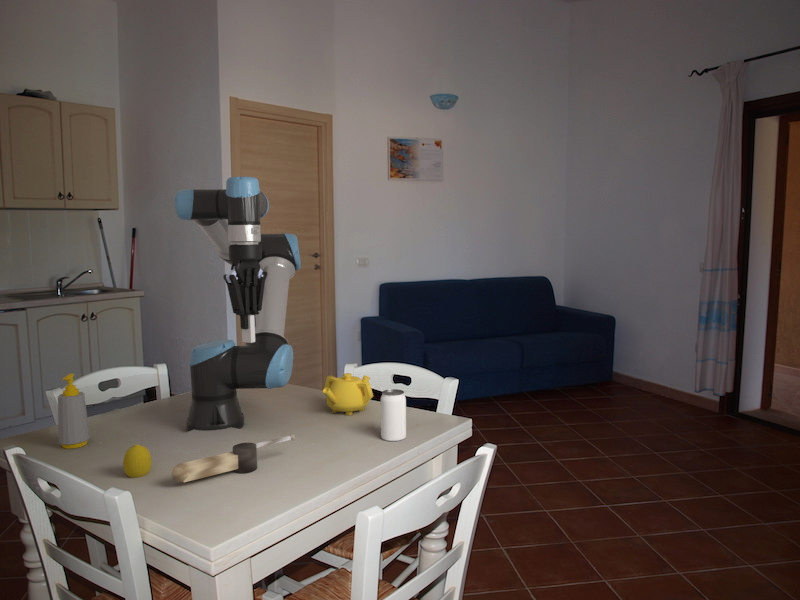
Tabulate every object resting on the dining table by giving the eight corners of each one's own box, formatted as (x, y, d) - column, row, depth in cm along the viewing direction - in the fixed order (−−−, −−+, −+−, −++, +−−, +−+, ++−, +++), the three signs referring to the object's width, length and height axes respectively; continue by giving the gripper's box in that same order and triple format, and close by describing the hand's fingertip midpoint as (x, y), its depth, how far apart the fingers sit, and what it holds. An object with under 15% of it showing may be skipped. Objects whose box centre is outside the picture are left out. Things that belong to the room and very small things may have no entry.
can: (403, 442, 147) (403, 396, 146) (378, 441, 148) (377, 394, 147) (408, 434, 153) (408, 389, 152) (384, 432, 155) (383, 388, 153)
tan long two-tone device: (176, 491, 117) (174, 465, 116) (169, 483, 121) (167, 458, 120) (300, 459, 133) (300, 436, 132) (290, 452, 137) (290, 430, 136)
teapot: (347, 398, 188) (346, 363, 187) (392, 407, 177) (392, 371, 176) (302, 414, 172) (301, 376, 170) (349, 425, 161) (348, 385, 160)
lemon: (130, 475, 129) (127, 440, 128) (156, 474, 129) (154, 439, 128) (120, 486, 123) (117, 449, 122) (147, 485, 124) (145, 448, 123)
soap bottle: (54, 450, 144) (48, 379, 142) (65, 441, 151) (60, 372, 149) (84, 448, 145) (79, 377, 143) (94, 439, 152) (89, 371, 150)
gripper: (237, 244, 132) (242, 347, 135) (275, 243, 143) (278, 338, 146) (212, 244, 135) (217, 345, 138) (251, 243, 147) (254, 336, 149)
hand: (248, 341), depth 142 cm, fingers closed
